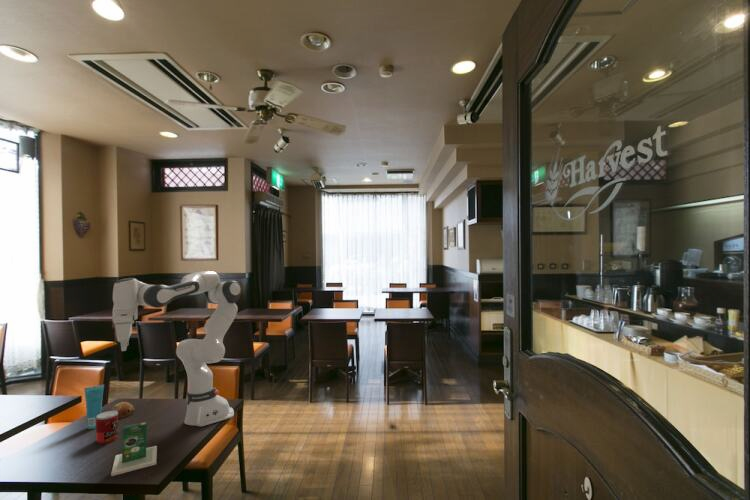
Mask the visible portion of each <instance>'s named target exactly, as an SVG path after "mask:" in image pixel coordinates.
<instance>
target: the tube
mask: <svg viewBox="0 0 750 500" xmlns="http://www.w3.org/2000/svg"><path fill="white" fill-rule="evenodd" d="M104 389H105V384H100V385H94V386H86V387H83V390H84V391H83V392H84V397H85V408H86V423H87V429H88V430H94V429H95V430H96V416H97V415H99V414H101V413H102V407H103V406H102V405H103V395H104Z"/></svg>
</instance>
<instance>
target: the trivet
mask: <svg viewBox="0 0 750 500" xmlns="http://www.w3.org/2000/svg"><path fill="white" fill-rule="evenodd" d="M157 451H158V446H157V445H153V446H147V447H146V457H143V458H138V459H134V460H131V461H127V462H122V453H120V454H116V455H115V457H114V460H113V465H112V469H111V472H110V476H111V477H114V476H117V475H122V474H125V473H129V472H132V471H136V470H140V469H144V468H148V467H152V466H156V465H157V459H158V458H157V456H158V454H157V453H158V452H157Z"/></svg>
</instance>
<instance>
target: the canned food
mask: <svg viewBox="0 0 750 500" xmlns="http://www.w3.org/2000/svg"><path fill="white" fill-rule="evenodd" d="M118 435H119V418H118V412H117V411H110V410H108V411H104V412H101V414H99V415H97V416H96V428H95V441H96V442H95V443H97V444H99V445H100V444H101V445H102V444H108V443H112V442H113V441H115V440H116V439H118Z"/></svg>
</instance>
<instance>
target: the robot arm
mask: <svg viewBox="0 0 750 500" xmlns="http://www.w3.org/2000/svg"><path fill="white" fill-rule="evenodd" d="M220 279H221V278H220V275H219V274H218V273H217V272H215V270H214V271H213V270H204V271H197V272H196V271H195V272H191V273H190V274H187V275H184V276H182V279H181V281H180V283H177V284H172V285H165V284H148V283H145V282H143V281H140V280H139V279H137V278H135V277H127V278H120V279H118V280H116V281H115V282H114V284H113V289H112V302H113V307H112V322H113V324H115V333H116V334H115V335H116V340H117V342H118V343H120V351H121V352H126V351H127V348H128V346H129V343H130V342H129V341H130V337H131V335H132V333H133V324H135V320H138V318H139V317H138V315H139V314H138V309H139V308H138V307H139V306H144V307H150V308H151V307H152V308H160V309H161V308H163V307H165V306H167V305H169V304H170V303H172V302H173V301H174V300H177V299H179V298H180V299H181V298H183V297H186V296H194V295H198V294H203V293H204V297H205V299H206V301H207V302H208V303H209V304H214V305H216V304H217V306H216V308H215V310H214V311H213V312H212V314H211V316H210V317H209V318H208V320H207V321H206V323H205V324H204V325H203V326H204V327H203V329H204V332H205V336H204V338H202V339H199V338H187V339H184V340H181V341H180V342H179V343H178V345H177V346H176V349H175V354H176V356H177V358H179V360H180V361H181V362H182V364H183V366H184V370H185V371H186V374H187V375H186V377H187V392H186V405H187V406H186V412H185V413H186V414H185V418H184V420H183V423H184V424H185V425H188V426H196V427H204V426H207V425H208V426H209V425H211V424H214V423H218V422H221V421H224V420H228V419H230V418H233V417H234V415H235V411H234V409H233V407H231V406H230V404H229V402H228V400H227V399H226V398H225V397H222V396H221V395H219V394H220V391H219V390H218V389H217V388H216V387H215V386H214V385H213V383H214V379H213V378H214V374H213V370H211V368H209V367H208V365H207V364H214V363H219V362H220V361H221V360H222V359H223V358H224V357H225V353H226V347H225V345H224V343H223V342H224V337H225V335H226V333H227V331H228V330H229V329H230V327H231V325H232V324H233V322H234V320H235V319H236V316H237V313H238V311H239V310H238V309H239V308H238V305H237V304H236V303H237V302H238V301H239V300H240V296H241V294H242V286H241V284H240V282H238V281H236V280H233V279H232V280H231V279H230V280H225V281H221V280H220ZM213 386H214V387H213Z"/></svg>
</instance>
